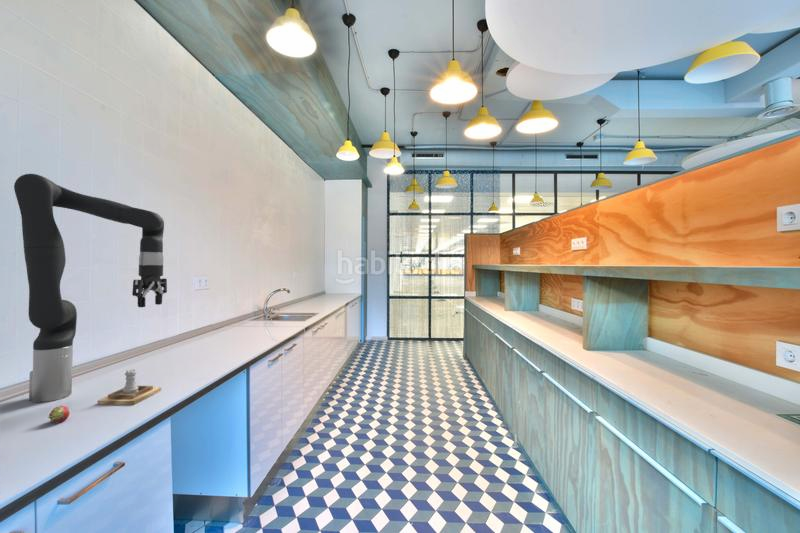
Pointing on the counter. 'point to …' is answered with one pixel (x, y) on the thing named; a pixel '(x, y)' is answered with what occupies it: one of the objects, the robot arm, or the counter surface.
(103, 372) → the counter surface
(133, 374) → the rook chess piece
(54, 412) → the fruit
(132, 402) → the display stand
